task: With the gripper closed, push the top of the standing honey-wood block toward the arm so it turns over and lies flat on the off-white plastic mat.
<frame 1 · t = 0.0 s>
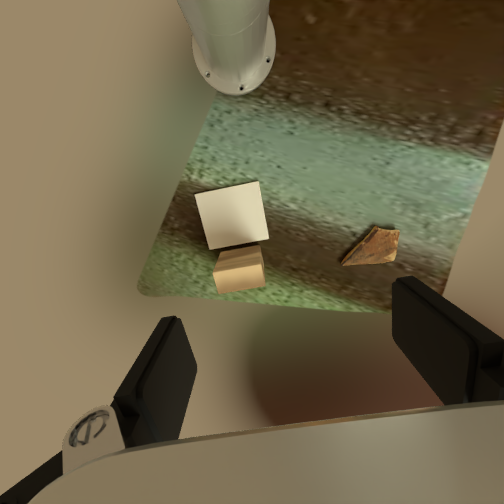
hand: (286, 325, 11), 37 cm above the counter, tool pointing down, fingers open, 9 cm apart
wood block: (242, 257, 49), on the counter
plastic mat: (232, 216, 46), on the counter
shard: (371, 251, 49), on the counter
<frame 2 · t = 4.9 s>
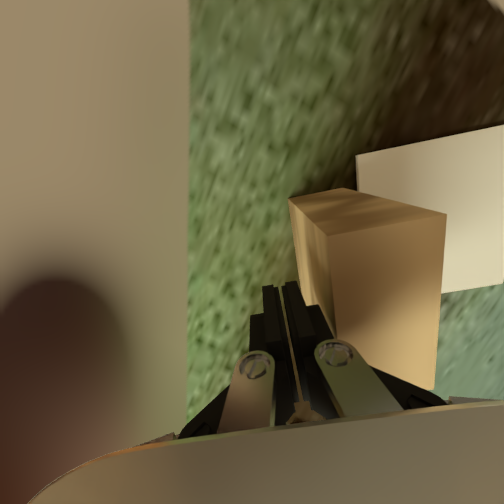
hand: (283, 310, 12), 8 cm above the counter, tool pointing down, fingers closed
wood block: (320, 244, 19), on the counter, touching gripper
plastic mat: (432, 223, 18), on the counter
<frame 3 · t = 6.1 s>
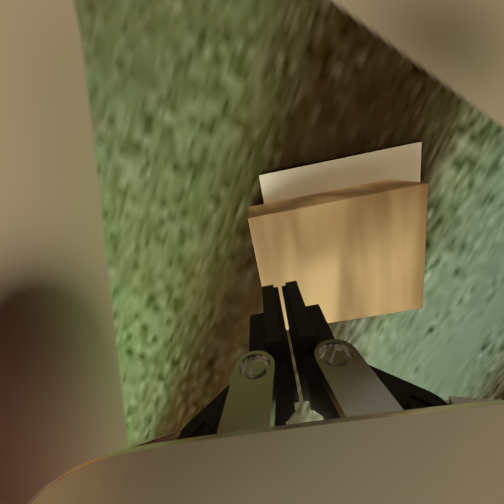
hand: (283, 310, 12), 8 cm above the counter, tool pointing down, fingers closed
wood block: (259, 267, 17), point 2 cm above the counter, tilted 90°, touching plastic mat
plastic mat: (342, 240, 19), on the counter
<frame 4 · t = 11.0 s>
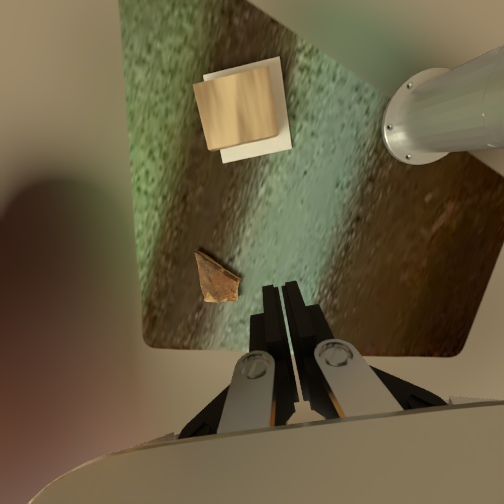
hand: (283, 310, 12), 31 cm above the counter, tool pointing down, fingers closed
wood block: (203, 121, 35), point 2 cm above the counter, tilted 90°, touching plastic mat
plastic mat: (249, 113, 36), on the counter
shard: (212, 279, 47), on the counter
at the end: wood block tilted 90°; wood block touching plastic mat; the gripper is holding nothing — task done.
